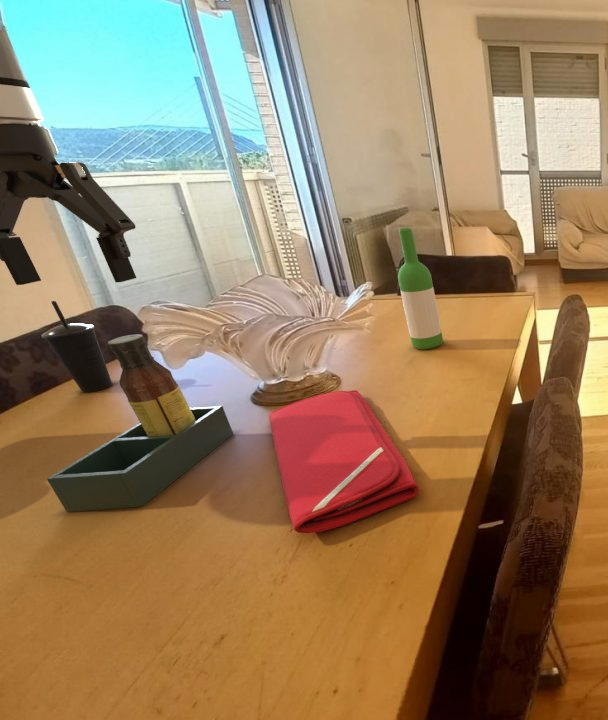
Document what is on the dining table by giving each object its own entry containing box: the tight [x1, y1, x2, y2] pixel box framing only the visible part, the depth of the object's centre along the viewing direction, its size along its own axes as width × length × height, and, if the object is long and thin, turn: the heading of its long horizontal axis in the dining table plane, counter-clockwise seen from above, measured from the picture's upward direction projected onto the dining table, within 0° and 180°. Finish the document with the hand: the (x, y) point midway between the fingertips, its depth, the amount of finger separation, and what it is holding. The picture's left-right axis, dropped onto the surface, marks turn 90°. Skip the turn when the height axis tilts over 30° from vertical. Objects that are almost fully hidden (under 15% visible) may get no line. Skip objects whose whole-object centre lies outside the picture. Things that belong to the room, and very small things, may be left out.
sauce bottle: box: [107, 333, 196, 436], centre depth 76 cm, size 7×6×20 cm
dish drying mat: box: [268, 389, 419, 534], centre depth 78 cm, size 16×41×4 cm, turn 38°
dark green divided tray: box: [46, 405, 234, 513], centre depth 75 cm, size 10×20×6 cm, turn 5°
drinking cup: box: [41, 300, 113, 393], centre depth 102 cm, size 8×8×20 cm
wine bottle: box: [397, 227, 444, 351], centre depth 119 cm, size 8×8×30 cm
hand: (78, 281), depth 71 cm, fingers open, 13 cm apart
